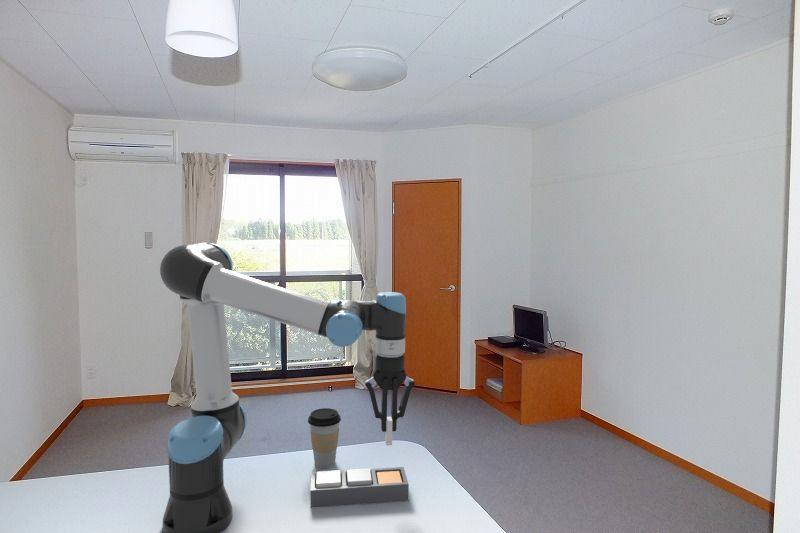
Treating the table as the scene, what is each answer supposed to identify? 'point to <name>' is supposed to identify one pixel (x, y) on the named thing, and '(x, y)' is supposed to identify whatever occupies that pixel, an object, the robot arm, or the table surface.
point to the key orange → (388, 477)
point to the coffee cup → (324, 436)
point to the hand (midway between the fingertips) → (388, 442)
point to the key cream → (328, 479)
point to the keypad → (359, 491)
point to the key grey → (359, 477)
